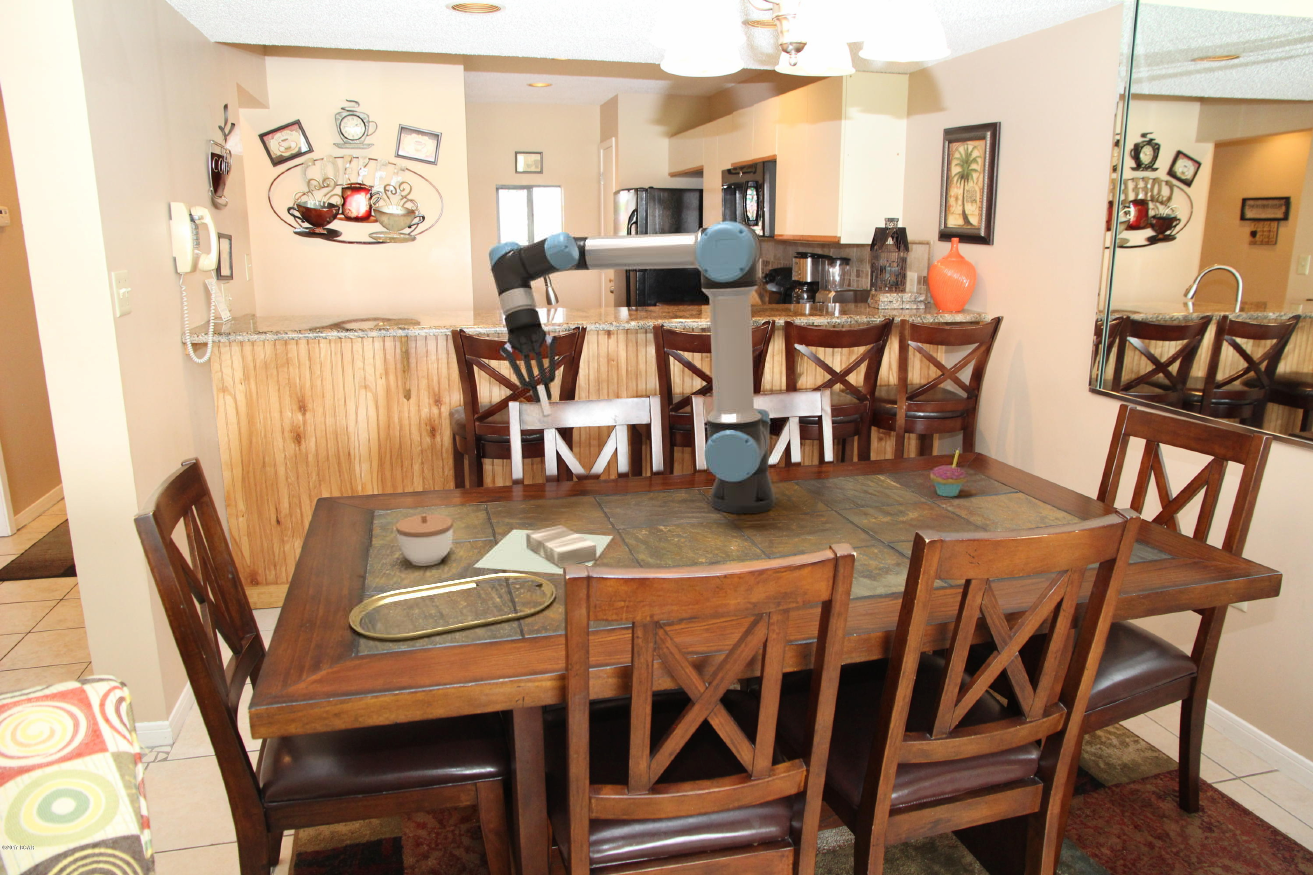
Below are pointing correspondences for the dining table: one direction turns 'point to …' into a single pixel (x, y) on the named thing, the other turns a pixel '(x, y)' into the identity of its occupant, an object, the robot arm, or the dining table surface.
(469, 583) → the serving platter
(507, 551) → the mat
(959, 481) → the cupcake
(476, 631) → the dining table surface
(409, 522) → the lidded jar
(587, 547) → the domino
